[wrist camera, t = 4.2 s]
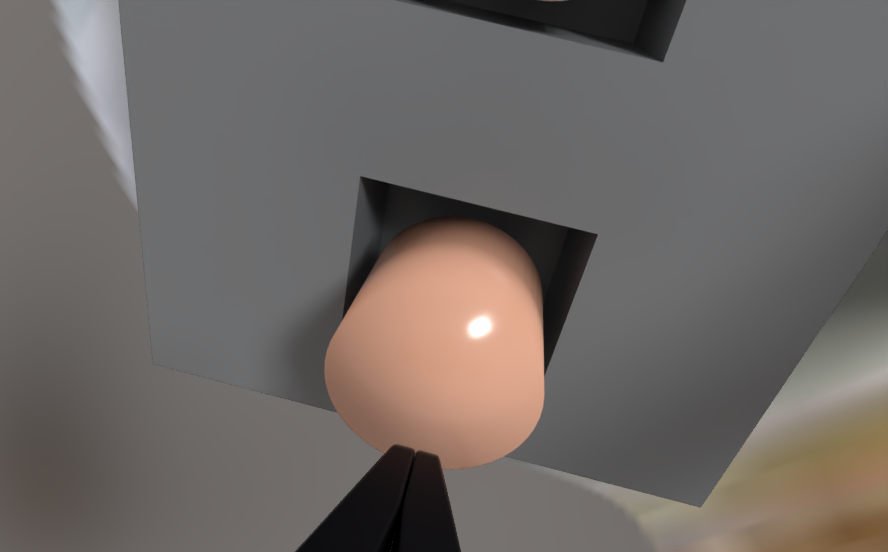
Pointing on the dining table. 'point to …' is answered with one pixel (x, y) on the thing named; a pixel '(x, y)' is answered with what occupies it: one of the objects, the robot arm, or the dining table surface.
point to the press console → (520, 193)
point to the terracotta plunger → (443, 345)
